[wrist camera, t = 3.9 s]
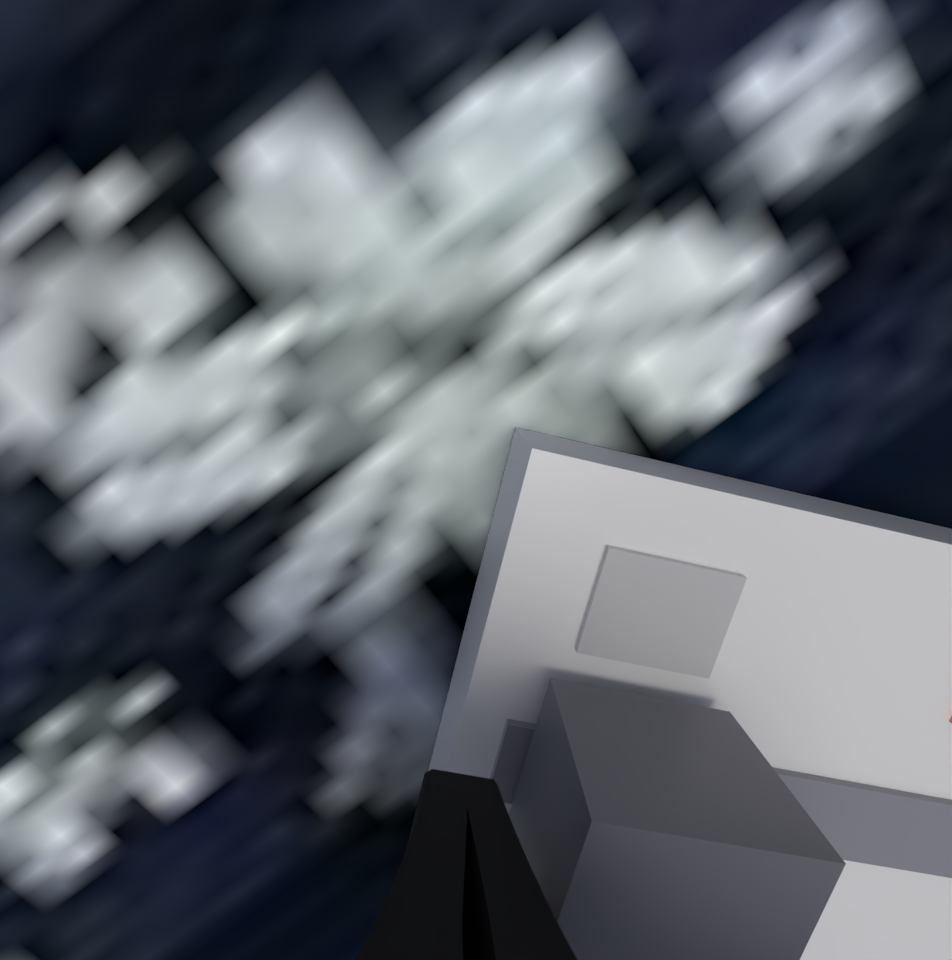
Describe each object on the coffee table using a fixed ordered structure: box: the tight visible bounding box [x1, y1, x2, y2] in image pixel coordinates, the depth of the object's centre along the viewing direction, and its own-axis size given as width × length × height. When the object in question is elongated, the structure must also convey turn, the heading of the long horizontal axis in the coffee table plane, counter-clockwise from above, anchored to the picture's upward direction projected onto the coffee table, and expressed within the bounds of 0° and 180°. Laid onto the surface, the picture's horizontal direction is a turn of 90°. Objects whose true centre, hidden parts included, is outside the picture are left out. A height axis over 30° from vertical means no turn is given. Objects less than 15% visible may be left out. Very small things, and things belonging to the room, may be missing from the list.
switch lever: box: [509, 677, 846, 960], centre depth 10 cm, size 4×5×4 cm
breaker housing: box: [428, 427, 952, 960], centre depth 14 cm, size 16×14×3 cm
